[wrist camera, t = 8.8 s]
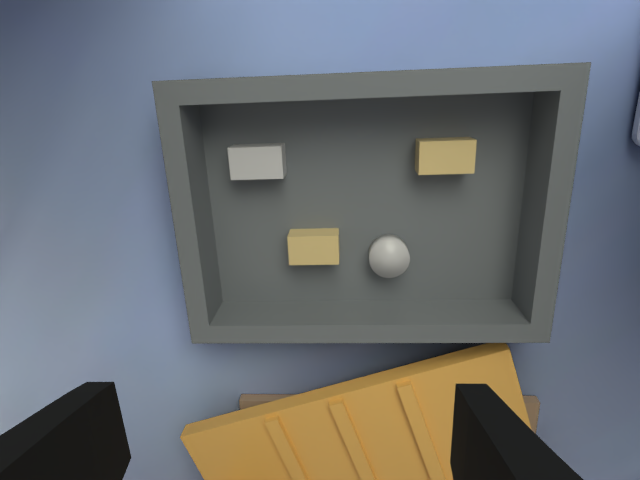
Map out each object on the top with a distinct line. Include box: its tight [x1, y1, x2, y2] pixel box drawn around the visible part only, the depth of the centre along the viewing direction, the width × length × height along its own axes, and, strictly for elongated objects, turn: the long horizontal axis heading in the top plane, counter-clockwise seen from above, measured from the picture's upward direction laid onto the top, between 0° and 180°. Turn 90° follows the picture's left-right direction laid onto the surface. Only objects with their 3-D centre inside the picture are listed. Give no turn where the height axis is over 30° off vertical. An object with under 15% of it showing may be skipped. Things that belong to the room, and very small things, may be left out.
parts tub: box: [152, 62, 591, 343], centre depth 17 cm, size 14×10×3 cm
